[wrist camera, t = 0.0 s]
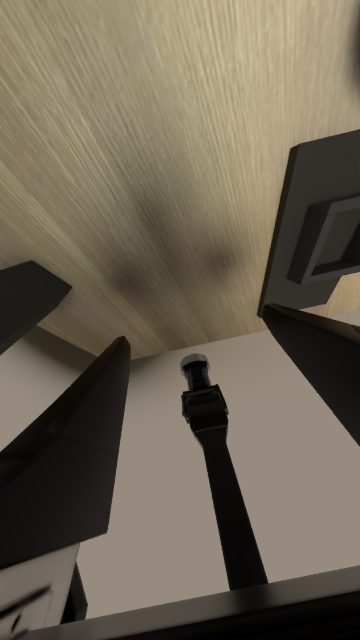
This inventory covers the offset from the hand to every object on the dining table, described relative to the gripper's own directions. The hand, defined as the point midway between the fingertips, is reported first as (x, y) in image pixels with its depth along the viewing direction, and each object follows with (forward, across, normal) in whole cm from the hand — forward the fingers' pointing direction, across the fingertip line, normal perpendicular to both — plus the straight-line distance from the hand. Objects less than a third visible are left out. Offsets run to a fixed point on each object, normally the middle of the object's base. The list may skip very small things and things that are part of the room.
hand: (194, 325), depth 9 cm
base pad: (+12, -19, +1) cm, 23 cm away
